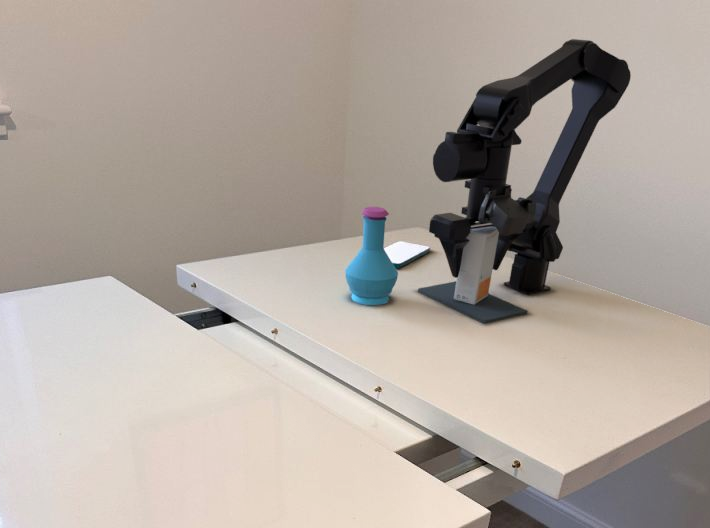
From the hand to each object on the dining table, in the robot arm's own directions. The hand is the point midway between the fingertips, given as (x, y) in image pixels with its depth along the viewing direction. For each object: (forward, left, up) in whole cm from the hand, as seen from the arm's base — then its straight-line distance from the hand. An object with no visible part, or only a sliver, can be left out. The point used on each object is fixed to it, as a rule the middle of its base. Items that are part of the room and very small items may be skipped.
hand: (475, 273), depth 125 cm
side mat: (0, 0, -5) cm, 5 cm away
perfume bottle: (+15, -10, -5) cm, 19 cm away
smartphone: (-5, -28, -5) cm, 29 cm away
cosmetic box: (0, 0, -5) cm, 5 cm away
